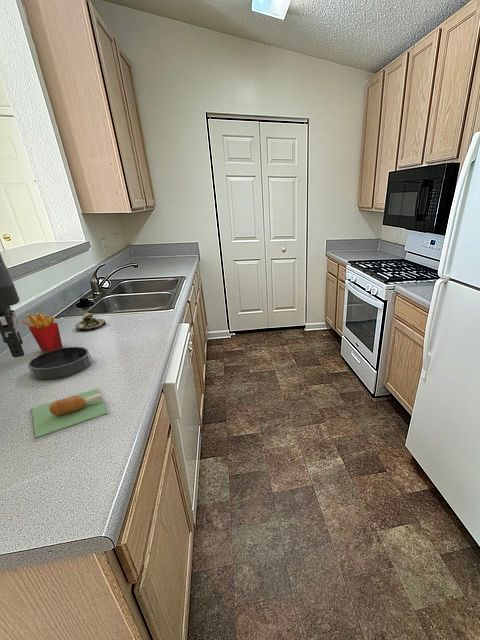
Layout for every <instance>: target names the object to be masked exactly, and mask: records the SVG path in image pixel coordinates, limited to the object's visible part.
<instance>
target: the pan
mask: <svg viewBox="0 0 480 640" xmlns="http://www.w3.org/2000/svg"><path fill="white" fill-rule="evenodd" d="M92 362H93V361H92V357H91V354H90V351H89V349H88V348H85V347H83V346H66V347H61V348H59V349H56V350H51V351H48V352H47V351H44V352H43V353H41V354H38V355H36V356H35V357H33V358H31V359H30V360H29V362H28V363H27V366H28V369H29V371H30V373H31V376H32V377H33V378H34V379H35V380H39V381H51V380H59V379H64V378H68V377H71V376H74V375H77V374H79V373H81V372H83V371H84V370H86V369H87V368H89V367H90V366H91V365H92Z"/></svg>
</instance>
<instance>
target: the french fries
mask: <svg viewBox="0 0 480 640" xmlns="http://www.w3.org/2000/svg"><path fill="white" fill-rule="evenodd" d="M26 316H27V318H28V320H27V321H28V322H26V321H24V320H21V321H20V323H21V324H23V325H26V326H28V329H29V331H30V332H31V334H32V336H33V338H34V340H35V342H36V344H37V345H38V347H39V349H40V350H41V351H42V352H48V351H51V350H56V349H60V348H63V341H62V338H61V334H60V329H59V323H58V322H55V319H56V318H55V317H54V315H50V318H49V317H48V315H47V314H44V313H39V312H35V316H31V314H30V313H26ZM30 323H31V324H30Z"/></svg>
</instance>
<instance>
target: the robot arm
mask: <svg viewBox="0 0 480 640" xmlns="http://www.w3.org/2000/svg"><path fill="white" fill-rule="evenodd" d="M20 300H21V299H20V297H19V294H18V291H17V288H16V287H15V283H14V281H13V279H12V276H11V273H10V271H9V269H8V267H7V265H6V264H5V261H4V258H3V256H2V253H1V252H0V335H1V338H2V342H3V343H4V344H6V345H7V347H8V349H9V352H10V354H11V357H12V358H14V359H15V358H20V357H24V356H25V351H24V348H23V347H22V345H23V344H24V342H23V339H22V337H21V334H20V329H19V326H18V324H19V322H18V318H17V315H16V312H15V310H14V309H12V308H11V306H15V305H17V304H18V303H19V302H20Z"/></svg>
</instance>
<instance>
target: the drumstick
mask: <svg viewBox="0 0 480 640" xmlns="http://www.w3.org/2000/svg"><path fill="white" fill-rule="evenodd" d="M71 396H72V397H71ZM71 396H68V398H67V397H65V399H64V398H61V399H58V401H57V400H55V402H54V401H52V402H53V403H52V404H51V405H50V408H49V410H50V412H51V413H52V414H53V415H56V416H60V415H63V414H67V413H70V412H73V411H76V410H79V409H81V408H82V407H83V406H85V405H87V404H90V403H92V402H95V401H98V400H100V399H101V400H102V399H103V394H102V393H101V392H100V393H99V392H98V394H95V395H93V396H90V397H87V398H85V399H83V398H82V397H81V396H74V395H71Z"/></svg>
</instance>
